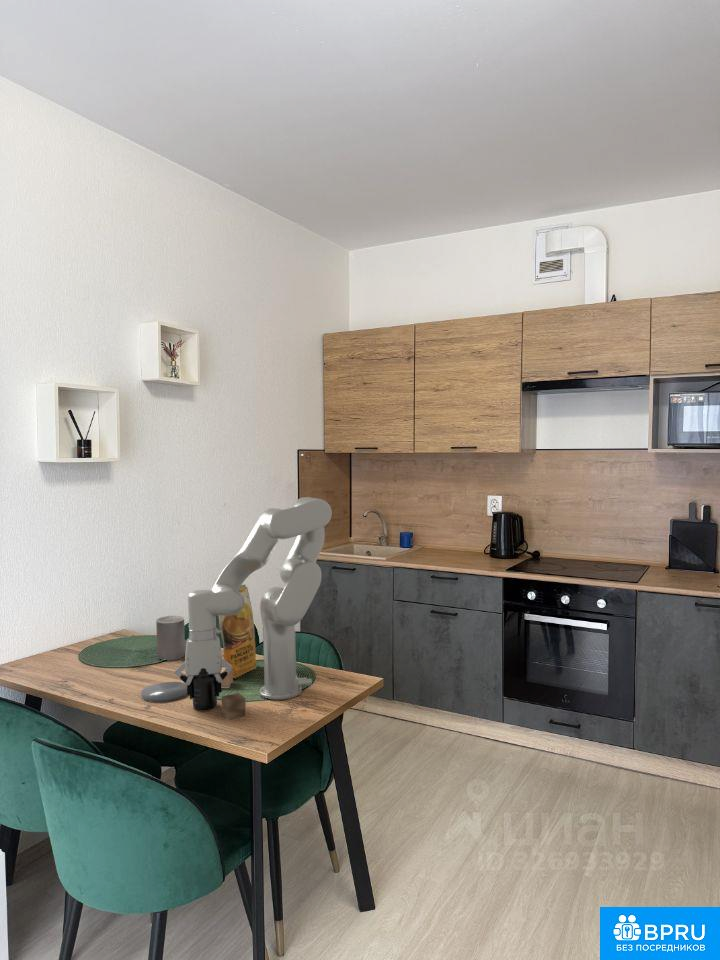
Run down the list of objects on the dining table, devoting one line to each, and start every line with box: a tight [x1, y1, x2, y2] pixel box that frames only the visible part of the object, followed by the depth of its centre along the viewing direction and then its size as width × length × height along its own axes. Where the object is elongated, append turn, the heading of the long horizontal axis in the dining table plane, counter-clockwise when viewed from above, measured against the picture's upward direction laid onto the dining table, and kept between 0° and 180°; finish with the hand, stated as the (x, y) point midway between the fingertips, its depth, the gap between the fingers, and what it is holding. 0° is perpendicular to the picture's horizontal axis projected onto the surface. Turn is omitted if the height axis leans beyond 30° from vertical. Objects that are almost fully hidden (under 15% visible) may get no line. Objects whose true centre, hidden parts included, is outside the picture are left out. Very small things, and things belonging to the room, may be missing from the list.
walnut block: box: [221, 692, 247, 721], centre depth 188 cm, size 5×5×5 cm
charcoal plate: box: [140, 681, 188, 703], centre depth 205 cm, size 14×14×1 cm
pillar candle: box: [155, 615, 186, 662], centre depth 242 cm, size 10×10×15 cm
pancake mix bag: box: [217, 584, 257, 679], centre depth 223 cm, size 7×19×28 cm, turn 151°
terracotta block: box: [216, 666, 234, 688], centre depth 212 cm, size 5×5×5 cm
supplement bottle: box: [192, 668, 218, 712], centre depth 194 cm, size 7×7×12 cm
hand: (204, 695), depth 194 cm, fingers closed on supplement bottle, 6 cm apart
